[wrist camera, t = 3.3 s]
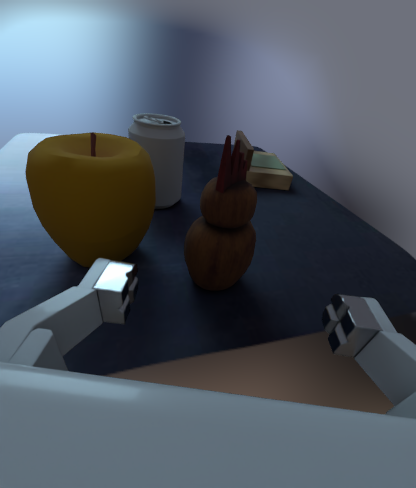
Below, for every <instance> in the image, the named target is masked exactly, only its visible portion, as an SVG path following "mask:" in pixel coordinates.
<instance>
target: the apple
mask: <svg viewBox="0 0 416 488" xmlns="http://www.w3.org/2000/svg"><path fill="white" fill-rule="evenodd" d="M26 180H27V184H28V188H29V192H30V196H31V200H32V204H33V208H34V210H35V212H36V214H37V216H38V218H39V220H40V222H41V224H42V226H43V227H44V228H45V230H46V231H47V232H48V234H49V235H50V236H51V238H52V239H53V240H54V242H55V243H56V244H57V245H58V246H59V247H60V248H61V249H62V250H63V251H64V252H65V253H66V254H67V255H68V257H70V258H71V259H72V260H73V261H75V262H77V263H78V264H80V265H82V266H83V267H91V266H92V265H93V263H94V262H95V260H97V259H98V258H103V259H109V260H116V261H122V260H123V259H125V258H126V257H128V256H129V255H131V254H132V253H133V252H134V251H135V250H136V248H137V247H138V246H139V244H140V242H141V241H142V239H143V237H144V236H145V234H146V232H147V230H148V229H149V226H150V223H151V220H152V217H153V213H154V209H155V204H156V186H155V174H154V169H153V165H152V162H151V159H150V156H149V154H148V153H147V152H146V151H145V150H144V148H143V147H141V146H140V145H139V144H138V143H137V142H136V141H133V140H131V139H129V138H127V137H121V136H117V135H111V134H103V133H83V134H71V135H59V136H54V137H49V138H45V139H44V140H43V141H41V142H40V143H38V144H37V145H36V146H35V147H34V148H33V149H32V150H31V151H30V152H29V153H28V159H27V165H26Z"/></svg>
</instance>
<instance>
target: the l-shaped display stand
mask: <svg viewBox="0 0 416 488" xmlns="http://www.w3.org/2000/svg"><path fill="white" fill-rule="evenodd" d="M237 140H240V152H243V153H244V160H247V161H248V162H247V175H246V181H247V182H249V183H250V184H252V186H253V187H261V188H271V189H281V190H289V187H290V184H291V181H292V178H293V175H292V174H291V173H290V172H289V171H288V169H287V168H286V167H285V166H284V165H283V163H282V162H281V161H280V160H279V159H278V158H277V156H276V155H275V154H273V153H266V152H258V151H254V149H253V147H252V146H251V144H250V143H249V141H248V140H247V138H246V137H245V135H244V134H243V132H242V131H237V133H236V138H235V144H236V141H237ZM235 144H234V147H235ZM233 150H234V149H233Z"/></svg>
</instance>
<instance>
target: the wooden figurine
mask: <svg viewBox="0 0 416 488" xmlns="http://www.w3.org/2000/svg"><path fill="white" fill-rule="evenodd" d="M247 162H248V161H247V160H244V153H243V152H240V140H237V141H236V144H235V147H234V150H233V153H232V156H231V136H229V135H228V136H227V137H226V140H225V145H224V150H223V154H222V159H221V164H220V169H219V173H218V177H215V178H213V179H212V180H211V181H209V182H208V183H207V185H206V186H205V188H204V190H203V192H202V194H201V199H200V209H201V212H202V215H203V216H201V217H200V218H198V219H197V220H196V221H194V222H193V224H192V225H191V227H190V229H189V230H188V232H187V234H186V238H185V243H184V255H185V261H186V264H187V266H188V270H189V274H190V276H191V278H192V279H193V281H194V282H195V284H196V285H198V286H200V287H201V288H203V289H206V290H210V291H220V290H224V289H227V288H229V287H231V286H233V285H234V284H235V283H236V282H237V281H238V280H239V279H240V278H241V277H242V275H243V274H244V273H245V272H246V270H247V268H248V267H249V265H250V263H251V260H252V257H253V254H254V248H255V242H256V232H255V230H254V228H253V226H252V224H251V221H250V220H251V218H252V217H253V215H254V212H255V208H256V203H257V192H256V190H255V188H254V187H253V186H252V184H250V183H249V182H247V181H246V175H247Z"/></svg>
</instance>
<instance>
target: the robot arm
mask: <svg viewBox="0 0 416 488" xmlns="http://www.w3.org/2000/svg"><path fill="white" fill-rule="evenodd" d="M137 272H138V268H137V264H134V263H128V262H122V261H116V260H109V259H103V258H98V259H97V260H95V262H94V263H93V265H92V266H91V268H90V269H89V271H88V272H87V274H86V275H85V277H84V278H83V279H82V281H81V282H80V284H79V285H78V287H75V286H73V287H71V288H69V289H68V290H66V291H64V292H62V293H60V294H58V295H56V296H54V297H52V298H50V299H49V300H47V301H45V302H43V303H41V304H39V305H37V306H35V307H33V308H32V309H30V310H28V311H26V312H24V313H22V314H20V315H18V316H16V317H14V318H13V319H11V320H9V321H7V322H5V323H4V324H3V326H2V327H1V328H0V488H416V345H415V344H413V343H412V342H411V341H410V340H408V339H407V338H406V337H404V336H403V335H402V334H398V333H397V332H396V330H395V329H394V327H393V326H392V324H391V322H390V321H389V319H388V318H387V316H386V314H385V313H384V311H383V310H382V308H381V306H380V305H379V303H378V302H377V301H376V300H375V299H373V298H366V297H358V296H351V295H343V294H335V295H333V297H332V298H331V302H332V304H330V305H328V306H326V307H325V309H324V311H323V314H322V323H323V326H324V329H325V330H326V331H327V332H328V333H329V334H330V335H329V337H328V341H329V343H330V346H331V349H332V351H333V354H336V355H342V356H348V357H354V359H355V360H356V361H357V363H358V364H359V365H360V366H361V367H362V368H363V370H364V371H365V372H366V373H367V374H368V375H369V376H370V378H371V379H372V380H373V381H374V382H375V383H376V385H377V386H378V387H379V388H380V389H381V391H382V392H383V393H384V394H385V395H386V396H387V398H388V399H389V400H390V401H391V402H392V403H393V404H394V406H395V407H393V408H392V409H390V410H389V411H387V412H386V414H385V415H383V414H376V413H368V412H361V411H354V410H347V409H339V408H332V407H325V406H318V405H311V404H303V403H296V402H289V401H282V400H274V399H267V398H259V397H252V396H245V395H238V394H230V393H223V392H216V391H208V390H201V389H194V388H186V387H179V386H172V385H164V384H157V383H150V382H142V381H135V380H128V379H120V378H113V377H106V376H99V375H91V374H84V373H77V372H70V371H68V369H67V367H66V364H65V362H64V359H63V357H62V356H64V355H65V354H66V353H67V352H68V351H70V350H71V349H72V348H73V347H74V346H76V345H77V344H78V343H79V342H80V341H82V340H83V339H84V338H85V337H86V336H88V335H89V334H90V333H91V332H92V331H94V330H95V329H96V328H97V327H98V326H100V325H101V324H102V323H103V322H110V323H118V324H125V322H126V320H127V317H128V315H129V312H130V304H131V303H132V302H134V300H135V297H136V294H137V290H138V278H137V277H136V274H137Z"/></svg>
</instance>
